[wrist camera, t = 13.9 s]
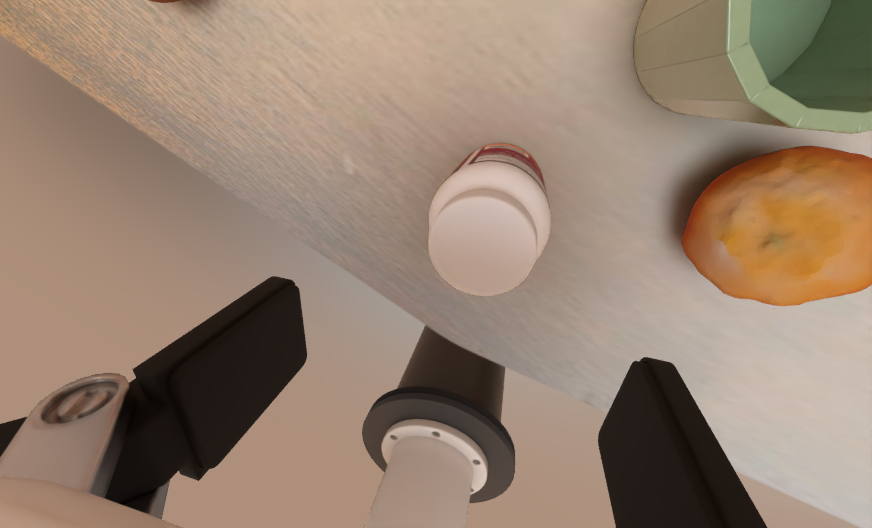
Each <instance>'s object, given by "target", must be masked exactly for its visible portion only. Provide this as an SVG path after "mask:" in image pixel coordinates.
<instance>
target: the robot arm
mask: <svg viewBox="0 0 872 528" xmlns="http://www.w3.org/2000/svg"><path fill="white" fill-rule="evenodd" d="M306 359H307V349H306V341H305V334H304V326H303V317H302V309H301V301H300V292H299V288H298V287H297V286H295V283H294V282H293V281H292V280H289V279H285V278H280V277H275V276H274V277H270V278H268V279H267V280H266V281H264V282H262V283H261V284H259V285H258V286H256V287H255V288H253V289H252V290H251V291H249V292H247V293H246V294H244V295H243V296H242V297H240V298H239V299H237V300H236V301H234V302H233V303H231V304H230V305H228V306H227V307H225V308H224V309H222V310H221V311H219V312H218V313H216V314H215V315H213V316H212V317H210V318H209V319H207V320H206V321H204V322H203V323H201V324H200V325H198V326H197V327H195V328H194V329H192V330H191V331H189V332H188V333H186V334H185V335H183V336H182V337H181V338H179V339H177V340H176V341H174V342H173V343H171V344H170V345H168V346H167V347H165V348H164V349H162V350H161V351H159V352H158V353H156V354H155V355H153V356H152V357H150V358H149V359H147V360H146V361H144V362H143V363H141V364H140V365H138V366H137V367H135V368H134V369H133V371H134V374H135V376H136V379H134V380H133V381H131V382H130V383H129V382H128V381H127V379H126V377H125V376H122V375H120V374H116V373H103V374H96V375H91V376H88V377H84V378H81V379H78V380H76V381H74V382H71V383H69V384H66V385H64V386H63V387H61V388H59V389H57V390H56V391H54V392H52V393H51V394H49V395H48V396H47V397H45V398H44V399H43V400H41V401H40V402H39V403H38V404H37V406H36V407H35V408H34V409H33V410H32V411H31V413H30V414H29V416H28V417H24V418H21V419H17V420H13V421H10V422H6V423H2V424H0V528H182V527H179V526H177V525H174V524H172V523H169V522H167V521H164V520H162V515H163V510H164V505H165V501H166V496H167V491H168V487H169V482H170V479H171V478H172V477H173V475H175V474H176V473H177V471H178V470H179V472H180V474H182V475H185V476H188V477H190V478H193V479H195V480H198V481H199V480H200V479H201V478H202V477H203V475H204V474H205V473H206V472H207V471H208V470H209V469H211V468H214V467H216V466H217V465H218V464H219V463H220V462H221V461H222V460H223V459H224V458H225V456H226V455H227V454H228V453H229V452H230V450H231V449H232V448H233V447H234V446H235V445H236V444H237V442H238V441H239V440H240V439H241V438H242V437H243V435H244V434H245V433H246V432H247V431H248V429H249V428H250V427H251V426H252V425H253V424H254V423H255V421H256V420H257V419H258V418H259V417H260V416H261V414H262V413H263V412H264V411H265V410H266V409H267V407H268V406H269V405H270V404H271V403H272V401H273V400H274V399H275V398H276V397H277V396H278V395H279V393H280V392H281V391H282V390H283V389H284V387H285V386H286V385H287V384H288V383H289V382H290V381H291V379H292V378H293V377H294V376H295V375H296V374H297V372H298V371H299V370H300V369H301V368H302V366H303V365H304V363H305V361H306ZM598 444H599V450H600V454H601V459H602V464H603V468H604V473H605V478H606V482H607V487H608V491H609V496H610V501H611V506H612V510H613V515H614V520H615V524H616V528H767V526H766V525H765V523H764V521H763V519H762V518H761V516H760V514H759V512H758V511H757V509H756V507H755V505H754V504H753V502H752V500H751V498H750V497H749V495H748V493H747V492H746V490H745V488H744V486H743V484H742V483H741V481H740V479H739V477H738V476H737V474H736V472H735V470H734V469H733V467H732V465H731V463H730V462H729V460H728V458H727V456H726V455H725V453H724V451H723V449H722V448H721V446H720V444H719V442H718V441H717V439H716V437H715V435H714V434H713V432H712V430H711V428H710V427H709V425H708V423H707V422H706V420H705V418H704V416H703V415H702V413H701V411H700V409H699V408H698V406H697V404H696V402H695V401H694V399H693V397H692V395H691V394H690V392H689V390H688V388H687V387H686V385H685V383H684V381H683V380H682V378H681V376H680V374H679V373H678V371H677V369H676V367H675V366H674V365H673V364H672V363H670V362H666V361H661V360H657V359H652V358H647V357H644V358H642V359H641V360H640V362H638V361H634V362H633V363H632V365H631V366H630V369H629V371H628V373H627V375H626V377H625V379H624V381H623V383H622V385H621V387H620V389H619V391H618V393H617V396H616V398H615V400H614V402H613V404H612V406H611V408H610V410H609V412H608V414H607V416H606V419H605V420H604V423H603V425H602V427H601V429H600V431H599V436H598ZM382 454H383V457H384V459H385V461H386V463H387V468H386V470H385V473H384V476H383V478H382V481H381V484H380V486H379V489H378V491H377V494H376V497H375V500H374V502H373V505H372V507H371V510H370V512H369V516H368V518H367V520H366V523H365V526H364V528H466V521H467V514H468V507H469V500H470V495H471V494H474V493H475V492H477V491H479V490H480V489H481V488H482V487H483V486H484V485H485V482H486V480H487V474H488V462H487V459H486V456H485V455H484V453H483V451H482V450H481V448H480V447H479V446H478V445H477V444H476V443H475V442H474V441H473V440H472V439H471V438H469V437H468V436H467V435H466V434H464V433H462V432H461V431H459V430H458V429H456V428H453V427H451V426H449V425H447V424H444V423H440V422H437V421H432V420H427V419H409V420H404V421H401V422H398V423H396V424H394V425H392V426H391V427H390V428H389V429H388V430H387V432H386V434H385V436H384V439H383V442H382Z"/></svg>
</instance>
